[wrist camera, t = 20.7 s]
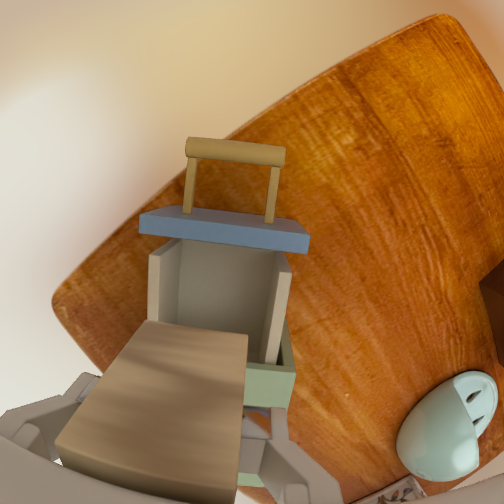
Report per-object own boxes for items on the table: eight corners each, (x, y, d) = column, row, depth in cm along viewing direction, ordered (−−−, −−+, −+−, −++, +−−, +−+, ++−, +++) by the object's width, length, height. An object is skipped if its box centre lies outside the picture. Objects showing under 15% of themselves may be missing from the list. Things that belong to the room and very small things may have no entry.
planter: (396, 460, 24) (522, 372, 22) (378, 417, 31) (489, 343, 29) (424, 512, 28) (518, 450, 25) (410, 479, 35) (497, 423, 33)
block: (147, 398, 13) (90, 522, 6) (145, 318, 12) (52, 442, 5) (237, 413, 13) (224, 553, 6) (248, 334, 12) (236, 489, 5)
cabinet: (160, 300, 29) (124, 347, 20) (286, 317, 29) (296, 373, 20) (161, 410, 32) (138, 467, 23) (264, 425, 32) (265, 487, 23)
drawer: (177, 142, 25) (148, 129, 18) (305, 156, 25) (322, 147, 18) (163, 339, 29) (139, 383, 21) (274, 355, 29) (278, 404, 21)
